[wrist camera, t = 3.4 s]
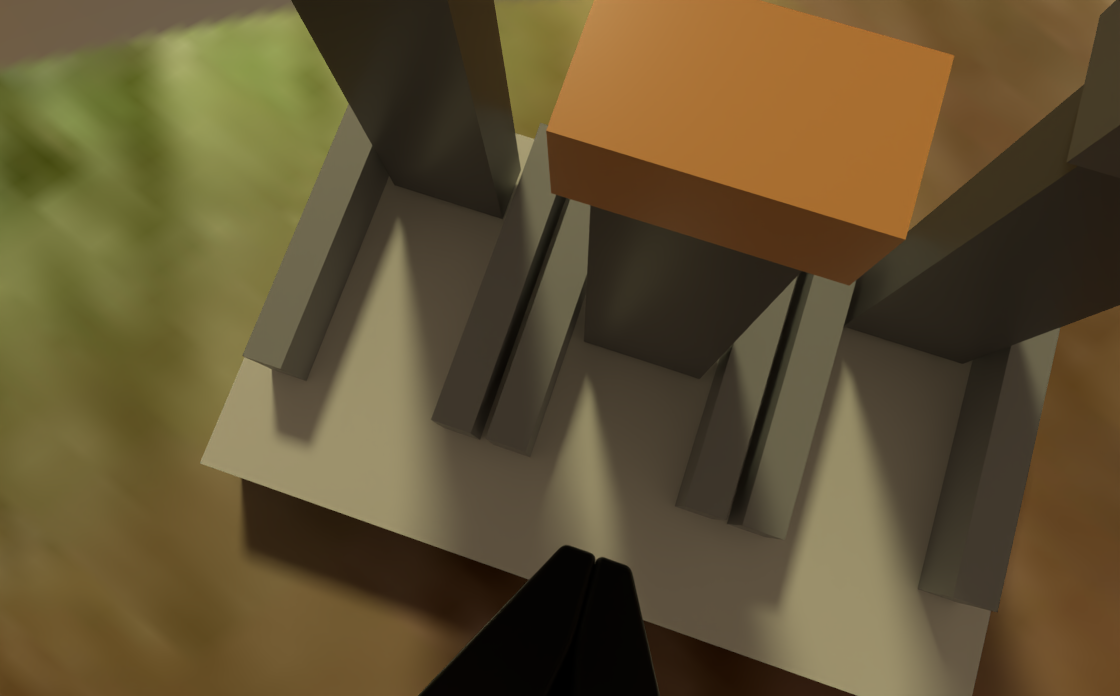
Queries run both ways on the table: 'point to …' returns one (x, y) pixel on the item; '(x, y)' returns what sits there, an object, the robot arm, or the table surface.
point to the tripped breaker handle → (732, 163)
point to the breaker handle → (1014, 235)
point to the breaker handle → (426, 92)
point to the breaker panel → (636, 433)
